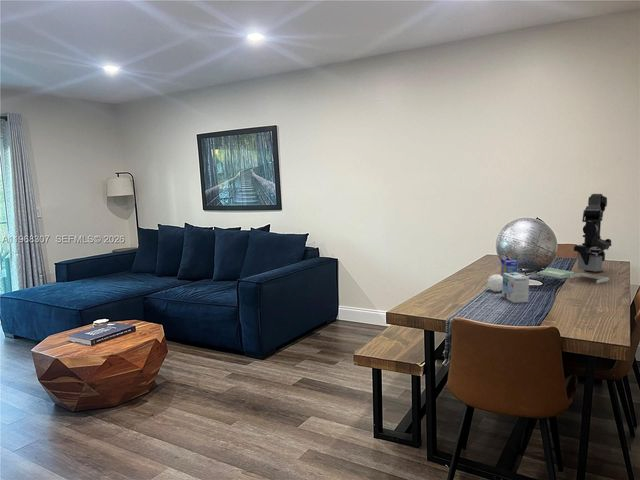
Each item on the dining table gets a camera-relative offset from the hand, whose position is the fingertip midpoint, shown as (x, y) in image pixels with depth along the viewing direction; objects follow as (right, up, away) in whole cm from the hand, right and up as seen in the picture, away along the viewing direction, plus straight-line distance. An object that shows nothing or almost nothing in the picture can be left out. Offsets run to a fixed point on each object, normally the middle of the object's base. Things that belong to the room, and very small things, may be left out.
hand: (589, 264), depth 230 cm
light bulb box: (-50, -14, -31) cm, 61 cm away
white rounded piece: (-52, -12, -18) cm, 56 cm away
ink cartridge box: (-42, -10, -4) cm, 43 cm away
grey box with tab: (0, -3, 0) cm, 3 cm away
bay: (0, -8, +1) cm, 8 cm away
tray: (-11, -6, +13) cm, 18 cm away
